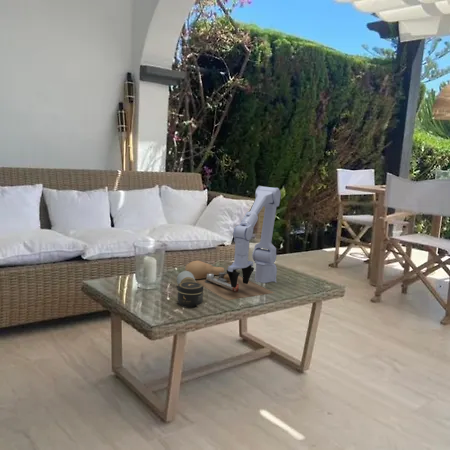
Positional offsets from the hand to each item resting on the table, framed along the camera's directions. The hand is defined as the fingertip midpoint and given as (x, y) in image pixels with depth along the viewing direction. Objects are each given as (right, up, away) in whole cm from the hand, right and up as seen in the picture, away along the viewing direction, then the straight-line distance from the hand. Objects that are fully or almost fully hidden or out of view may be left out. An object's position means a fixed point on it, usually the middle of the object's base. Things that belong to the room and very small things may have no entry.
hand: (239, 285), depth 207 cm
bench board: (-3, -2, +6) cm, 7 cm away
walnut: (-5, 0, +14) cm, 15 cm away
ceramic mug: (-21, -3, +2) cm, 22 cm away
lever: (-7, -1, +5) cm, 9 cm away
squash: (-16, +1, +21) cm, 26 cm away
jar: (-20, -6, -15) cm, 25 cm away
